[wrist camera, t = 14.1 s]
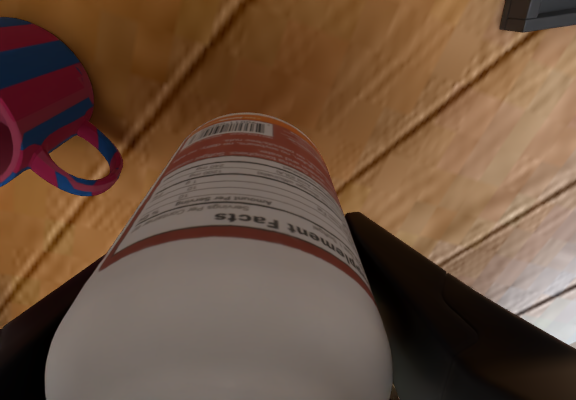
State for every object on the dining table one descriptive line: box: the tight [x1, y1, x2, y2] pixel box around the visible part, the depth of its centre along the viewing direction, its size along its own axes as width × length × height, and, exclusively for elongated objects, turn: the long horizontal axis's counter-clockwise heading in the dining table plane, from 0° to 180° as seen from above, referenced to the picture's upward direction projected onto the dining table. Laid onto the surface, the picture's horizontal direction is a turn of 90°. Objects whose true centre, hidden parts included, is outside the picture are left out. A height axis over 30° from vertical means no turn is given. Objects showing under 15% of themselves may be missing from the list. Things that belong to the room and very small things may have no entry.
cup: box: [0, 17, 123, 196], centre depth 16 cm, size 7×10×7 cm
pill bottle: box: [45, 113, 393, 400], centre depth 8 cm, size 6×6×11 cm
